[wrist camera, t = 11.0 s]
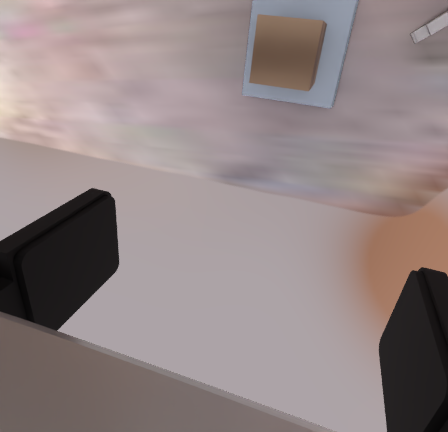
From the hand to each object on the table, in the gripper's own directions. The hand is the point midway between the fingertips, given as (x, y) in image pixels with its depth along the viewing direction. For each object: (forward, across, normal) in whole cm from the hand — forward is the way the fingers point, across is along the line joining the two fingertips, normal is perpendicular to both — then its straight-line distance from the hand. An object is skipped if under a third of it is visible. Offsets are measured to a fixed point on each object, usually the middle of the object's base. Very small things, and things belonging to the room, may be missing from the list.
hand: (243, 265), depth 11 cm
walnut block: (+27, +3, -5) cm, 28 cm away
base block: (+30, +3, -5) cm, 31 cm away
